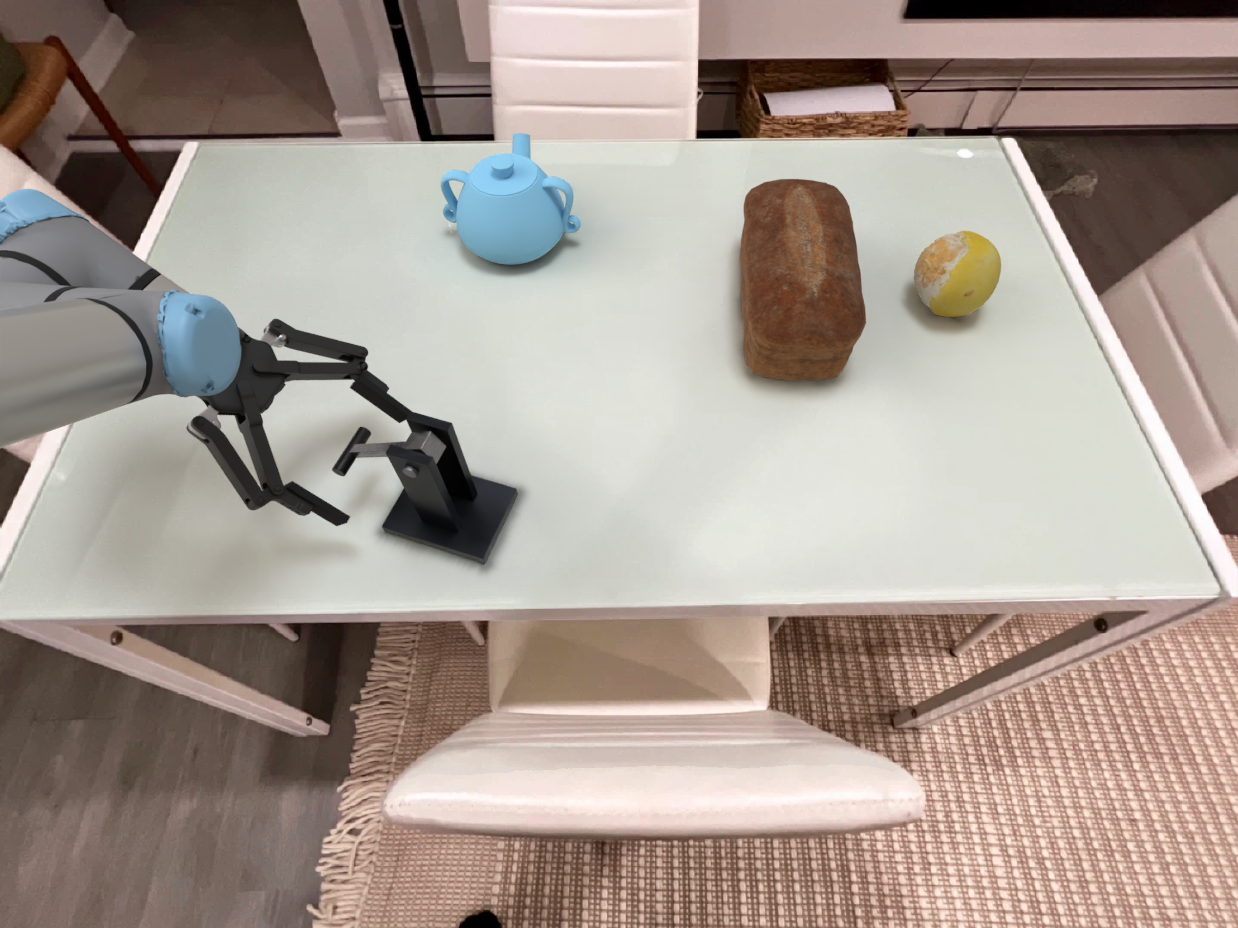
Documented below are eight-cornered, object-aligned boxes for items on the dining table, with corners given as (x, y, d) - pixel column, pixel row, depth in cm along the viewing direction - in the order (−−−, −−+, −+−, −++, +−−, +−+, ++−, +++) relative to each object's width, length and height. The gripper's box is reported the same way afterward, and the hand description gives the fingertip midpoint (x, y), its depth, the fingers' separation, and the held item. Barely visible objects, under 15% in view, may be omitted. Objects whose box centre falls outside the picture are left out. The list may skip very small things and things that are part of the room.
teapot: (434, 269, 99) (411, 192, 88) (469, 180, 109) (452, 101, 99) (573, 281, 97) (566, 204, 87) (594, 189, 108) (591, 110, 97)
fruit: (966, 273, 97) (999, 213, 89) (990, 331, 92) (1026, 273, 83) (893, 275, 97) (918, 215, 89) (911, 333, 92) (940, 275, 83)
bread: (829, 238, 101) (852, 162, 91) (851, 394, 86) (881, 324, 76) (732, 235, 102) (744, 159, 92) (737, 389, 87) (751, 318, 77)
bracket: (384, 532, 77) (337, 459, 64) (422, 465, 81) (385, 385, 69) (485, 564, 75) (456, 494, 62) (518, 494, 79) (497, 416, 67)
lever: (342, 479, 73) (325, 465, 71) (368, 437, 76) (353, 423, 74) (428, 478, 66) (412, 463, 64) (454, 432, 69) (439, 417, 67)
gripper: (249, 264, 74) (414, 388, 84) (82, 454, 61) (300, 574, 71) (271, 233, 68) (445, 370, 78) (93, 435, 56) (327, 567, 66)
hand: (376, 467), depth 75 cm, fingers open, 13 cm apart
